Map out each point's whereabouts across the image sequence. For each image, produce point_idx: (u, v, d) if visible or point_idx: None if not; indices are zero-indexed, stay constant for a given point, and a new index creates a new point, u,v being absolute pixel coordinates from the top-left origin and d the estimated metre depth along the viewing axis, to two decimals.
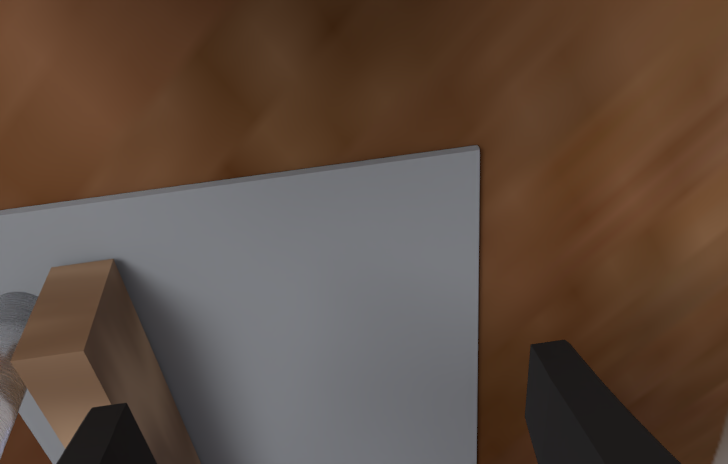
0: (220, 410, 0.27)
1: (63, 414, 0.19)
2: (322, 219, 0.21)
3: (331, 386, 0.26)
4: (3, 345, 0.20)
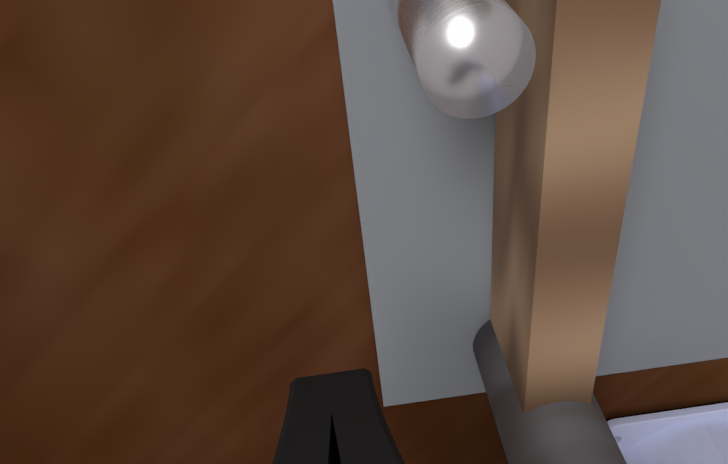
0: None
1: (580, 42, 0.13)
2: None
3: None
4: None
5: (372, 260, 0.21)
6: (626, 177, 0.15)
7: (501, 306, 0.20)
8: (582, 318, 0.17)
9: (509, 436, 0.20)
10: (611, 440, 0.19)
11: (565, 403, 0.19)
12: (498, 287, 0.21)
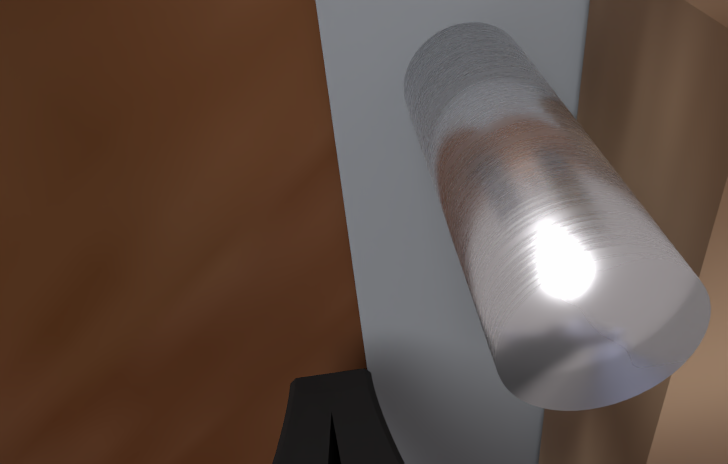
0: None
1: None
2: None
3: None
4: (546, 93, 0.08)
5: None
6: None
7: None
8: None
9: None
10: None
11: None
12: None
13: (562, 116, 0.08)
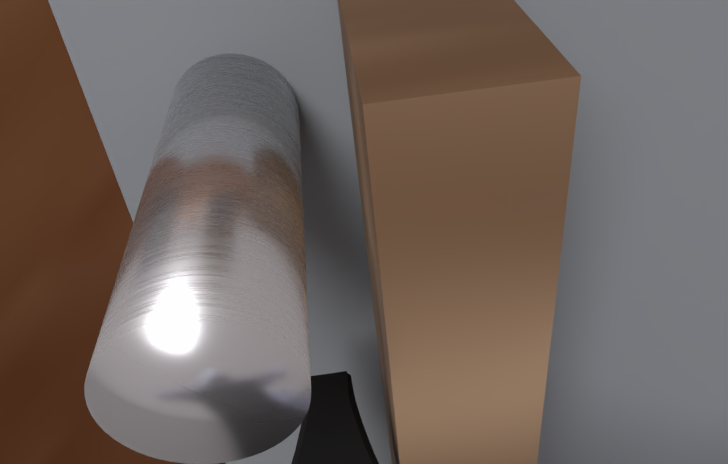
0: None
1: (430, 295, 0.07)
2: None
3: None
4: (250, 132, 0.08)
5: None
6: (532, 450, 0.09)
7: None
8: None
9: None
10: None
11: None
12: None
13: (246, 158, 0.08)
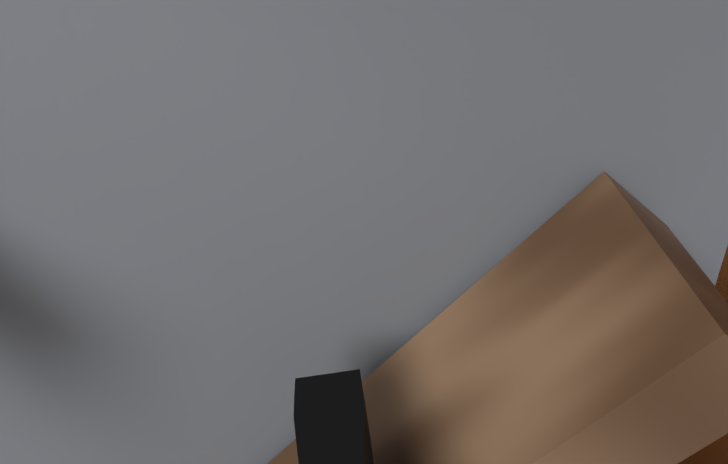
0: (236, 389, 0.15)
1: (599, 446, 0.10)
2: None
3: None
4: None
5: None
6: None
7: None
8: None
9: None
10: None
11: None
12: None
13: None
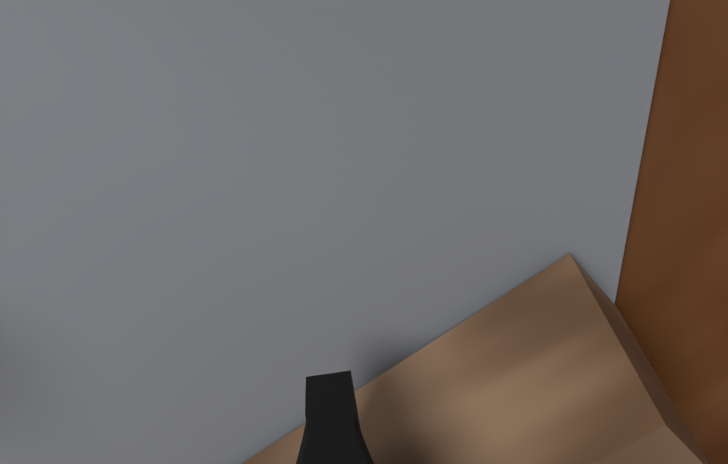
0: (138, 404, 0.14)
1: None
2: None
3: (341, 359, 0.14)
4: None
5: None
6: None
7: None
8: None
9: None
10: None
11: None
12: None
13: None
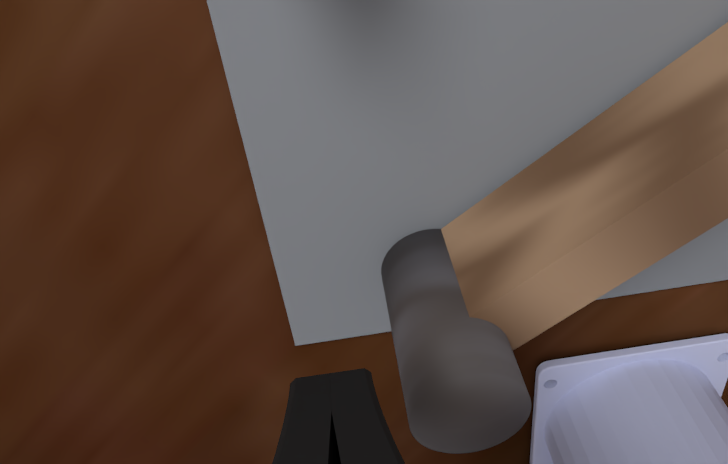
0: (503, 69, 0.18)
1: None
2: None
3: (669, 27, 0.18)
4: None
5: (259, 174, 0.19)
6: None
7: (499, 219, 0.19)
8: (614, 269, 0.17)
9: (441, 327, 0.17)
10: None
11: (502, 334, 0.18)
12: (506, 203, 0.19)
13: None
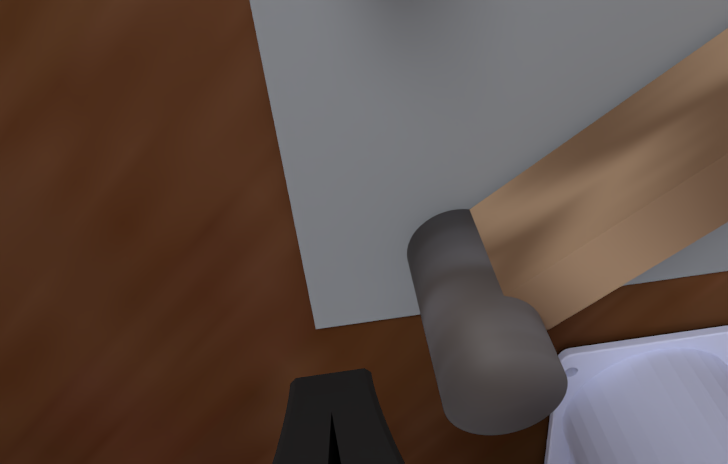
0: (540, 44, 0.18)
1: None
2: None
3: (709, 3, 0.18)
4: None
5: (287, 149, 0.19)
6: None
7: (531, 198, 0.19)
8: (652, 247, 0.17)
9: (476, 305, 0.17)
10: None
11: (535, 315, 0.18)
12: (539, 182, 0.19)
13: None
